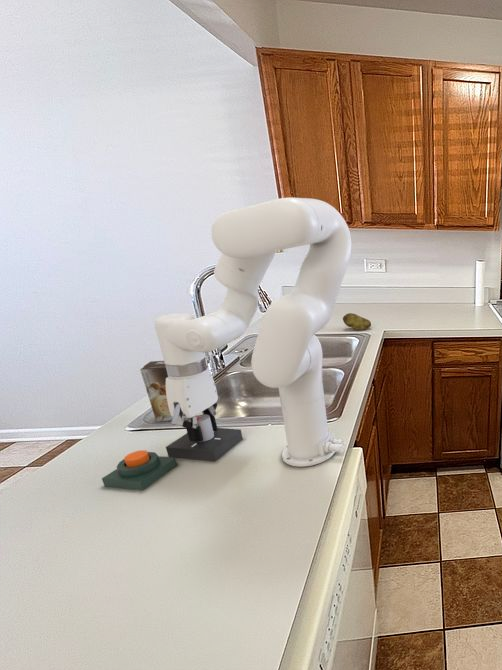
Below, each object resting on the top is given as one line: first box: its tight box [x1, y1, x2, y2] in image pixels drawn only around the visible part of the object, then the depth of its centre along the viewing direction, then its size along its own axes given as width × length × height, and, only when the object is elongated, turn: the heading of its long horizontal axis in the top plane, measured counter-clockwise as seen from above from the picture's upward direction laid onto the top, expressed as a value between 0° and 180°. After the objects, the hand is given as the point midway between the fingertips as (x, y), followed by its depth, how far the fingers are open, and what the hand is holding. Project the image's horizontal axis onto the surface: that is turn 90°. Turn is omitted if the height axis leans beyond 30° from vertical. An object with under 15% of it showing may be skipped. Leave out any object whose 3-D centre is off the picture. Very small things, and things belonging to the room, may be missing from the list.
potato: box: [342, 312, 372, 331], centre depth 198 cm, size 8×13×8 cm, turn 81°
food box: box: [139, 360, 191, 423], centre depth 111 cm, size 9×6×16 cm
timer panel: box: [165, 427, 243, 463], centre depth 99 cm, size 12×10×3 cm
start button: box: [123, 449, 150, 467], centre depth 87 cm, size 4×4×2 cm
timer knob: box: [189, 414, 214, 442], centre depth 97 cm, size 4×4×6 cm
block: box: [101, 451, 178, 491], centre depth 88 cm, size 9×9×4 cm
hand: (203, 434), depth 98 cm, fingers closed on timer knob, 4 cm apart
